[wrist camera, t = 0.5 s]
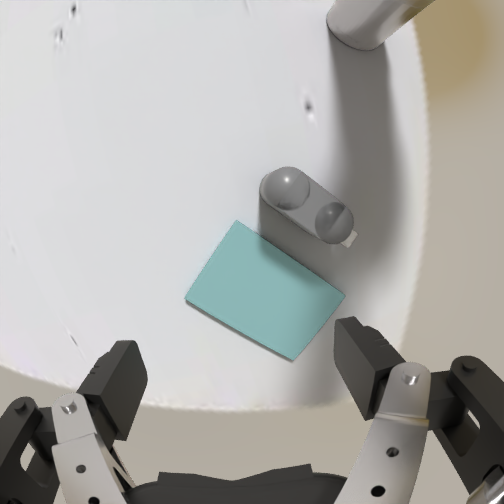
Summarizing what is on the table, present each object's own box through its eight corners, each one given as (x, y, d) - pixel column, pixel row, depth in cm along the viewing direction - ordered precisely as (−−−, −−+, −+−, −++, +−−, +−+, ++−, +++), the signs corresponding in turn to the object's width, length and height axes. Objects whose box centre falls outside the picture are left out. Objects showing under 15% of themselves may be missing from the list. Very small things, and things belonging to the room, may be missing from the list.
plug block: (273, 164, 33) (283, 157, 26) (346, 220, 35) (371, 227, 28) (252, 193, 34) (258, 193, 27) (328, 247, 36) (349, 260, 29)
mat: (236, 219, 34) (236, 220, 33) (343, 293, 37) (345, 296, 37) (185, 296, 36) (184, 298, 35) (292, 357, 39) (293, 360, 38)
